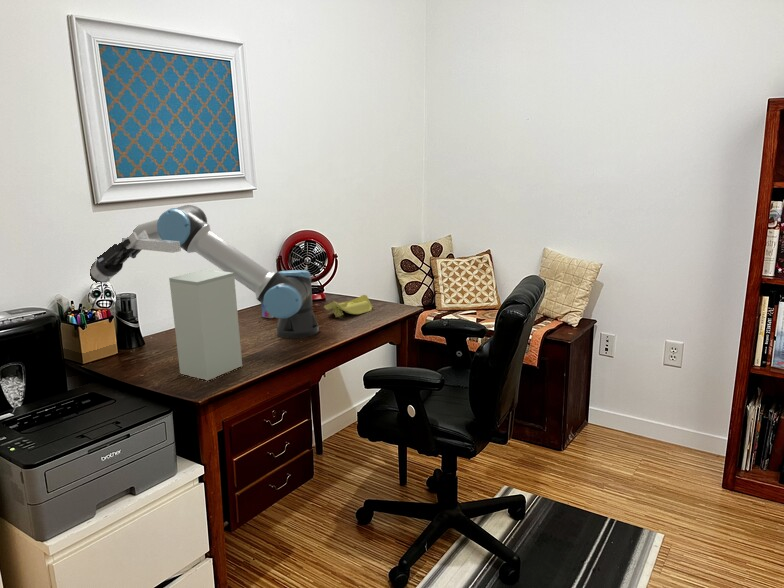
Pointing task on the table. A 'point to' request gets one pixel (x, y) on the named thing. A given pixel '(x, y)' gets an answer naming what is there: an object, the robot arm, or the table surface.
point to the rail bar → (156, 245)
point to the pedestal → (206, 323)
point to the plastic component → (351, 306)
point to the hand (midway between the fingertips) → (140, 235)
